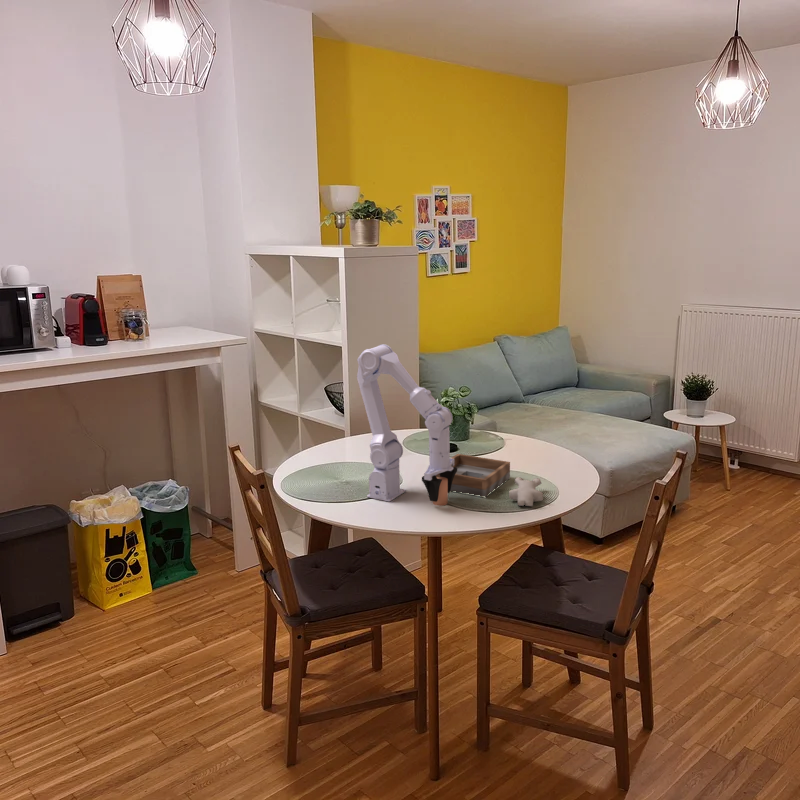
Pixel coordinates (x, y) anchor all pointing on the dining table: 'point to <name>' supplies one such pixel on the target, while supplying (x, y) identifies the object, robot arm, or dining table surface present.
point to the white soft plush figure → (526, 492)
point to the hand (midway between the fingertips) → (440, 496)
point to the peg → (442, 492)
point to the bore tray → (478, 474)
